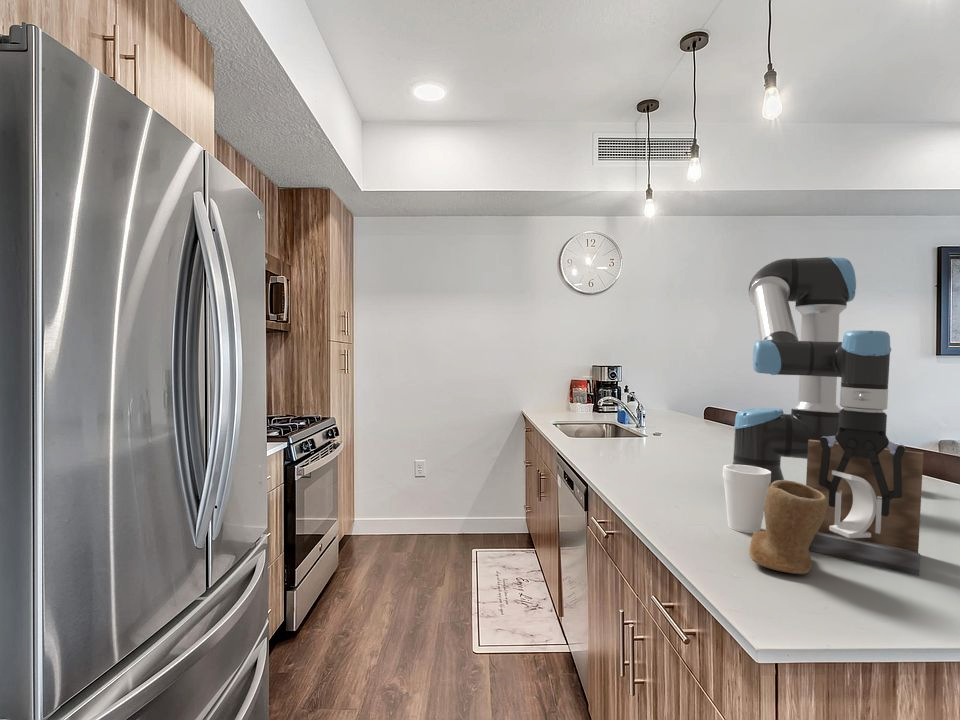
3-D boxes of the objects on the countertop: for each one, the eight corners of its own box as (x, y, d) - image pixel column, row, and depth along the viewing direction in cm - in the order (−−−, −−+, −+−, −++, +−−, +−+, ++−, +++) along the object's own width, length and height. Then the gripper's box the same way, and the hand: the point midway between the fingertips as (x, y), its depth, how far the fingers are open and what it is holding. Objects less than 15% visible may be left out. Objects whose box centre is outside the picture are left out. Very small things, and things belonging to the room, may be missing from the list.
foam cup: (764, 524, 119) (767, 467, 119) (772, 538, 110) (775, 476, 110) (718, 519, 122) (720, 462, 122) (722, 531, 113) (725, 471, 113)
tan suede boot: (825, 587, 88) (829, 497, 87) (745, 569, 94) (748, 485, 94) (822, 557, 101) (826, 479, 100) (752, 543, 107) (755, 469, 106)
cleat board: (795, 547, 105) (799, 447, 105) (805, 530, 116) (809, 439, 115) (919, 575, 93) (925, 462, 93) (917, 553, 104) (923, 452, 103)
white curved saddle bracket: (829, 530, 106) (831, 470, 106) (855, 529, 107) (857, 470, 107) (848, 538, 101) (851, 475, 101) (875, 537, 102) (878, 475, 102)
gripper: (803, 406, 106) (798, 521, 107) (926, 416, 94) (919, 545, 95) (809, 404, 112) (804, 512, 113) (925, 413, 100) (919, 534, 101)
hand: (857, 527), depth 104 cm, fingers closed on white curved saddle bracket, 6 cm apart
